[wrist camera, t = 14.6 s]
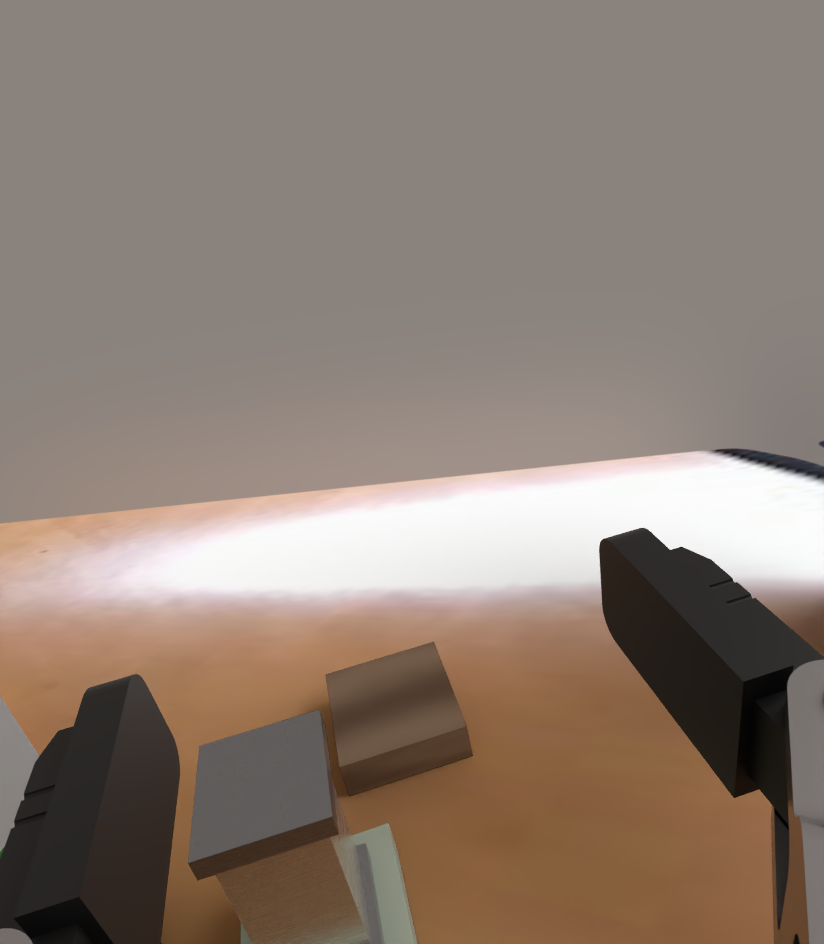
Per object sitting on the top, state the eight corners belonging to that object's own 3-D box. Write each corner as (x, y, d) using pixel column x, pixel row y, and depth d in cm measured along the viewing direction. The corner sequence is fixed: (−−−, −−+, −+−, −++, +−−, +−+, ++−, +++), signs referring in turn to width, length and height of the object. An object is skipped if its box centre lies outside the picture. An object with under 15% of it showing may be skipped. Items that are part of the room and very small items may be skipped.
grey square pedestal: (268, 889, 37) (199, 746, 31) (369, 855, 38) (319, 709, 32) (270, 1010, 32) (187, 863, 26) (388, 968, 32) (332, 816, 27)
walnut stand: (334, 701, 53) (325, 674, 51) (439, 669, 54) (433, 641, 52) (349, 796, 45) (339, 767, 43) (472, 755, 46) (466, 726, 44)
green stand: (256, 901, 39) (241, 872, 38) (397, 852, 41) (388, 823, 39) (257, 1086, 31) (239, 1057, 30) (434, 1019, 33) (424, 989, 31)
